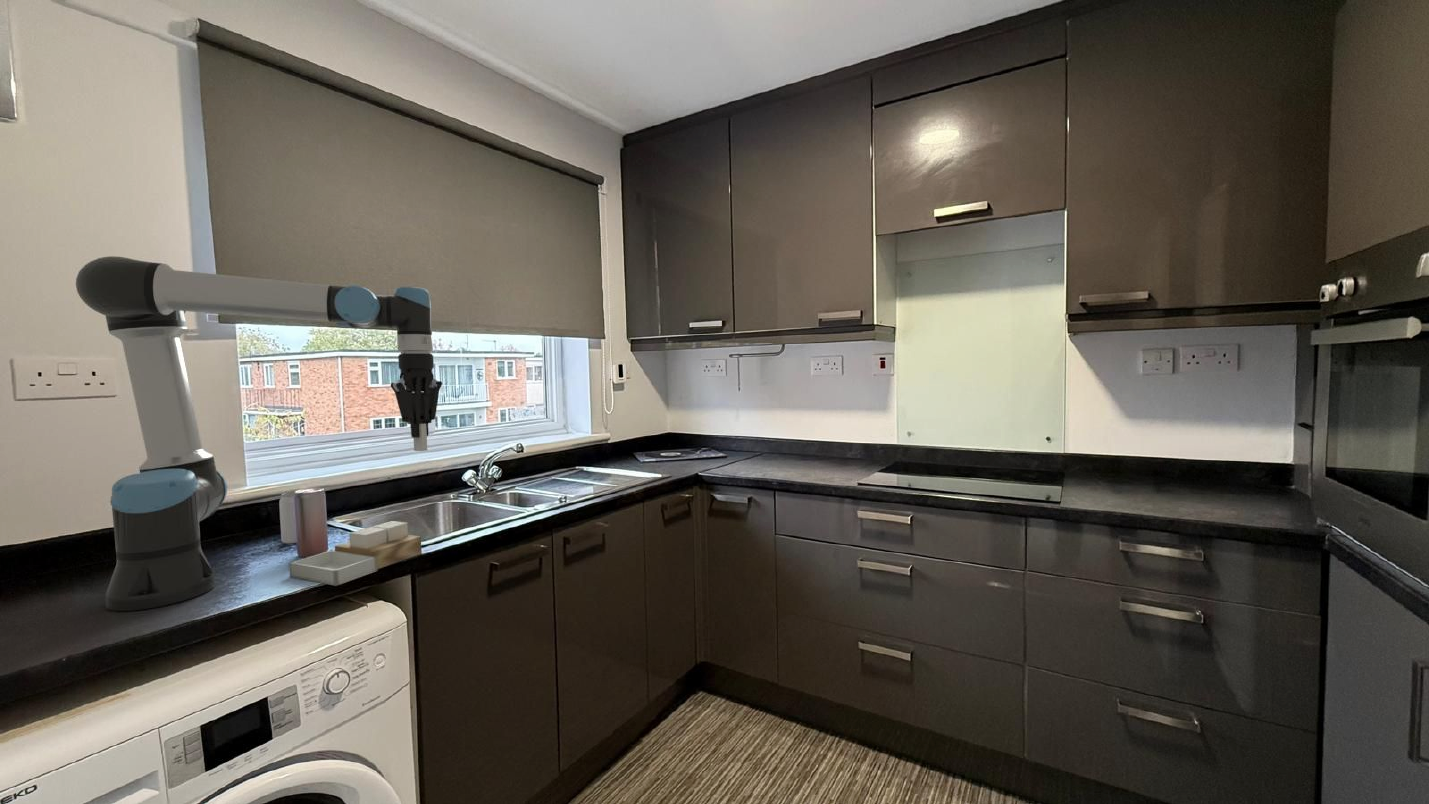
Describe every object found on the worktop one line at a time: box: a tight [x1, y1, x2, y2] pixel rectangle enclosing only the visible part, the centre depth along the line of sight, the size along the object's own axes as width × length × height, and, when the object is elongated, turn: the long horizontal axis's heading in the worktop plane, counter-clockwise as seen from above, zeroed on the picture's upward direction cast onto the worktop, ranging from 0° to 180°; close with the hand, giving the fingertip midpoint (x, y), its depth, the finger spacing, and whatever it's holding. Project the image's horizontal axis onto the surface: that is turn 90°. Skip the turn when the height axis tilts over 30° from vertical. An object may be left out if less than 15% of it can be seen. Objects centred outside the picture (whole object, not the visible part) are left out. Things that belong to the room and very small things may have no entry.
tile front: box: [348, 526, 387, 549], centre depth 129 cm, size 5×5×3 cm
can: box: [278, 491, 297, 545], centre depth 147 cm, size 6×6×12 cm
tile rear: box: [371, 520, 409, 542], centre depth 134 cm, size 5×5×3 cm
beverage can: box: [294, 487, 329, 559], centre depth 135 cm, size 6×6×15 cm
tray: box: [288, 549, 378, 587], centre depth 122 cm, size 9×14×3 cm, turn 68°
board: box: [334, 534, 423, 570], centre depth 132 cm, size 12×12×4 cm
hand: (420, 450), depth 142 cm, fingers closed
